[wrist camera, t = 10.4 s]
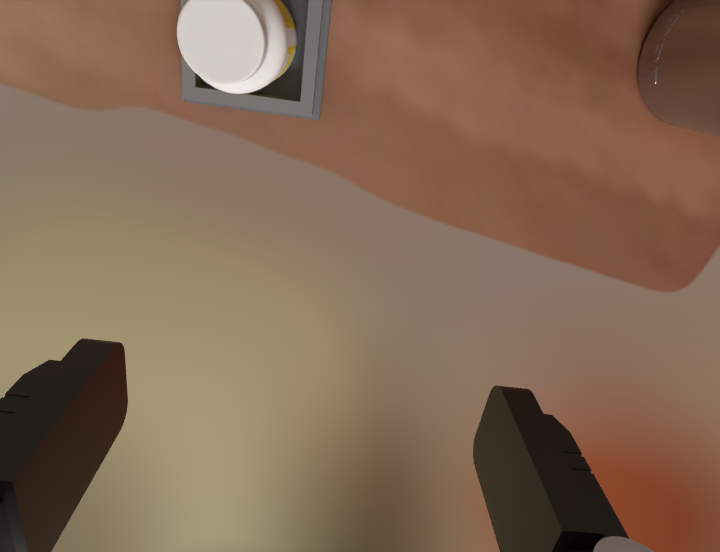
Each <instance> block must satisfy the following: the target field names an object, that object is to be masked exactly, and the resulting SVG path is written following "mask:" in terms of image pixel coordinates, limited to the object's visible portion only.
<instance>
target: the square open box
mask: <svg viewBox="0 0 720 552" xmlns="http://www.w3.org/2000/svg"><path fill="white" fill-rule="evenodd" d="M281 1H282V2H283V3H284V4H285V5H286V7H287V8H288V10H289V11H290V13H291V15H292V17H293V19H294V21H295V25H296V28H297V35H298V44H297V50H296V54H295V57H294V59H293V62H292V63H291V65H290V67H289V68H288V69H287V70H286V72H285V73H283V74H282V75H281V76H280V77H279V78H277V79H276V80H274V81H273V82H271V83H270V84H268V85H267V86H265V87H263V88H261V89H259V90H257V91H254V92H250V93H244V94H233V93H228V92H224V91H221V90H218V89H216V88H214V87H213V86H211V85H209V84H208V83H207V82H205V81H204V80H203V79H202V78H201V77H200V76H199V75H198V74H196V73H195V72H194V71H193V70H192V69H191V68H190V66H189V65H188V64H187V62H186V61H185V59H184V58H183V56H182V53H181V62H182V99H184V102H191V103H198V104H205V105H212V106H220V107H227V108H234V109H241V110H249V111H256V112H263V113H270V114H278V115H285V116H292V117H299V118H307V119H314V120H319V119H320V111H321V101H322V91H323V81H324V71H325V61H326V51H327V41H328V31H329V21H330V11H331V1H332V0H281ZM186 2H187V0H181V10H182V8H183V7H184V5H185V4H186Z"/></svg>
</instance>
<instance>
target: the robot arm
mask: <svg viewBox="0 0 720 552" xmlns="http://www.w3.org/2000/svg"><path fill="white" fill-rule="evenodd" d="M638 82H639V89H640V93H641V95H642V98H643V100H644V103H645V104H646V105H647V107H648V108H649V110H650V111H651V112H652V113H653V114H654V115H655V116H657V117H658V118H659V119H661V120H662V121H665V122H667V123H670V124H672V125H675V126H679V127H683V128H687V129H690V130H694V131H698V132H701V133H705V134H708V135H712V136H715V137H719V138H720V0H674V1H673V2H672V3H671V4H670V5H669V6H668V7H667V8H666V9H665V10H664V11H663V13H662V14H661V15H660V16H659V17H658V19H657V20H656V22H655V24H654V25H653V27H652V28H651V30H650V31H649V34H648V36H647V38H646V40H645V43H644V45H643V48H642V51H641V55H640V59H639V67H638ZM127 405H128V395H127V381H126V365H125V352H124V347H123V345H122V343H120V342H111V341H102V340H93V339H81V340H79V341H78V342H77V343H76V344H75V345H74V346H73V347H72V349H71V350H70V351H69V352H68V353H67V354H66V356H65V357H64V358H63V359H62V360H61V361H55V360H48V361H47V362H45V363H43V364H41V365H39V366H38V367H36V368H34V369H32V370H31V371H29V372H27V373H25V374H24V375H23V376H22V377H21V378H20V379H19V380H18V381H17V382H16V383H15V384H14V385H13V386H12V387H11V388H10V389H9V390H8V391H7V392H6V394H5V397H4V398H1V399H0V552H51V551H52V549H53V547H54V546H55V544H56V542H57V540H58V539H59V537H60V535H61V533H62V531H63V530H64V528H65V526H66V525H67V523H68V521H69V519H70V518H71V516H72V514H73V512H74V511H75V509H76V507H77V505H78V504H79V502H80V500H81V498H82V497H83V495H84V493H85V491H86V490H87V488H88V486H89V484H90V483H91V481H92V479H93V477H94V476H95V474H96V472H97V470H98V469H99V467H100V465H101V463H102V462H103V460H104V458H105V456H106V454H107V453H108V451H109V449H110V448H111V446H112V444H113V442H114V441H115V439H116V437H117V435H118V434H119V432H120V430H121V428H122V426H123V423H124V420H125V416H126V412H127ZM581 454H582V453H581V451H580V449H579V447H578V446H577V444H576V442H575V440H574V438H573V437H572V435H571V433H570V432H569V431H568V430H567V429H566V428H565V427H564V426H563V425H562V424H561V423H560V422H559V421H558V420H557V419H555V418H554V417H553V416H552V415H548V414H543V412H542V410H541V408H540V406H539V404H538V403H537V400H536V399H535V397H534V395H533V393H532V392H531V391H530V390H529V389H522V388H513V387H504V386H494V387H493V388H492V390H491V392H490V394H489V397H488V400H487V403H486V406H485V409H484V412H483V415H482V418H481V421H480V423H479V426H478V429H477V432H476V435H475V439H474V446H473V457H474V464H475V468H476V472H477V475H478V478H479V482H480V485H481V489H482V492H483V495H484V498H485V502H486V506H487V509H488V512H489V516H490V519H491V523H492V526H493V529H494V533H495V536H496V540H497V543H498V546H499V550H500V552H653V551H652V550H650V549H649V548H647V547H646V546H644V545H642V544H640V543H638V542H636V541H633V540H631V539H629V537H628V535H627V533H626V532H625V530H624V528H623V526H622V525H621V523H620V521H619V519H618V517H617V516H616V514H615V512H614V510H613V509H612V507H611V505H610V503H609V501H608V499H607V498H606V496H605V494H604V492H603V490H602V489H601V487H600V485H599V483H598V482H597V480H596V478H595V476H594V474H591V469H590V467H589V465H588V464H587V462H586V460H585V458H584V457H582V456H581Z"/></svg>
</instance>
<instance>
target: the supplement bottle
mask: <svg viewBox="0 0 720 552" xmlns="http://www.w3.org/2000/svg"><path fill="white" fill-rule="evenodd" d="M177 40H178V45H179V48H180V51H181V53H182V56H183V58H184V59H185V61H186V62H187V64H188V65H189V66H190V68H191V69H192V70H193V71H194V72H195V73H196V74H198V75H199V76H200V77H201V78H202V79H203V80H204V81H205V82H207V83H208V84H209V85H211V86H213V87H214V88H216V89H218V90H221V91H224V92H228V93H233V94H244V93H250V92H254V91H257V90H259V89H261V88H263V87H265V86H267V85H268V84H270V83H271V82H273V81H274V80H276V79H277V78H279V77H280V76H281V75H282V74H283V73H285V72H286V70H287V69H288V68H289V67H290V65H291V63H292V62H293V59H294V57H295V54H296V50H297V44H298V35H297V28H296V25H295V21H294V19H293V17H292V15H291V13H290V11H289V10H288V8H287V7H286V5H285V4H284V3H283V2H282V1H281V0H187V2H186V4H185V5H184V7H183V8H182V10H181V12H180V15H179V18H178V23H177Z"/></svg>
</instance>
